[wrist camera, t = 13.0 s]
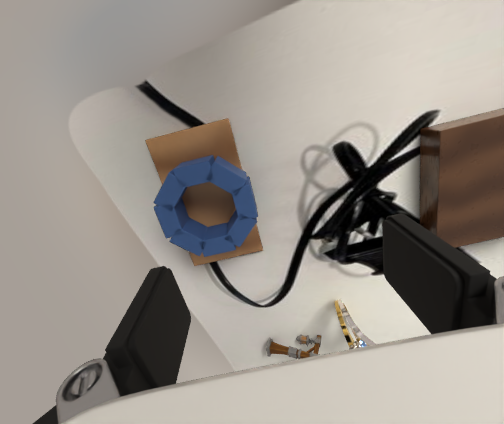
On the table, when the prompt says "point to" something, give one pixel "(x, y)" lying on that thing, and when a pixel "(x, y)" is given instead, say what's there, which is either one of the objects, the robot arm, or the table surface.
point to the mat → (206, 194)
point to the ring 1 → (193, 232)
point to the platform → (463, 179)
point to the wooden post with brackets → (294, 352)
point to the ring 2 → (360, 337)
